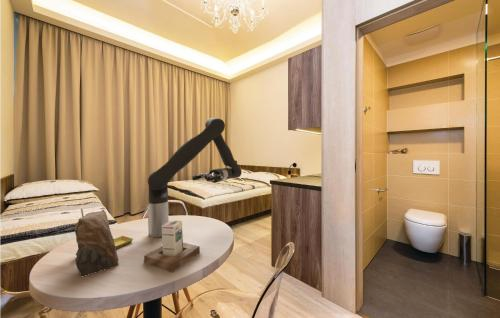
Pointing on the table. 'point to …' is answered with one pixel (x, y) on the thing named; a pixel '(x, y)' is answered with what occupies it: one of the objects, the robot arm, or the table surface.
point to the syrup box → (172, 238)
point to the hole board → (168, 262)
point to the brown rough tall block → (95, 244)
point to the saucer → (122, 241)
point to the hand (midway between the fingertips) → (199, 178)
